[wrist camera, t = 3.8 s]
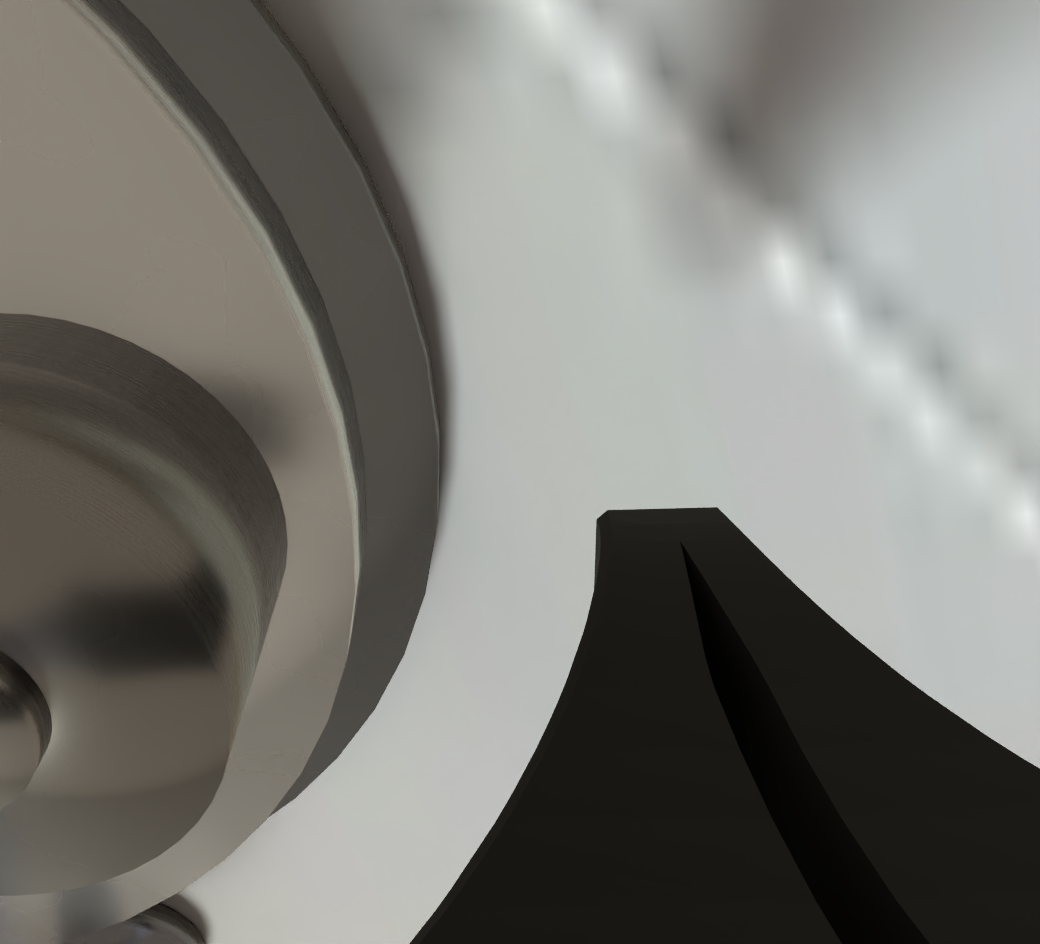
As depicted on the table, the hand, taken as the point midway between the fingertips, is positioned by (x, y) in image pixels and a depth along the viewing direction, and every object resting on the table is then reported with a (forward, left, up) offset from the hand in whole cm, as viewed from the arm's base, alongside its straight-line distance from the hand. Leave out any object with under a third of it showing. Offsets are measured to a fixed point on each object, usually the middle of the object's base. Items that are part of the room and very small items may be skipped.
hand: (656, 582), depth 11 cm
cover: (-5, +5, -2) cm, 7 cm away
